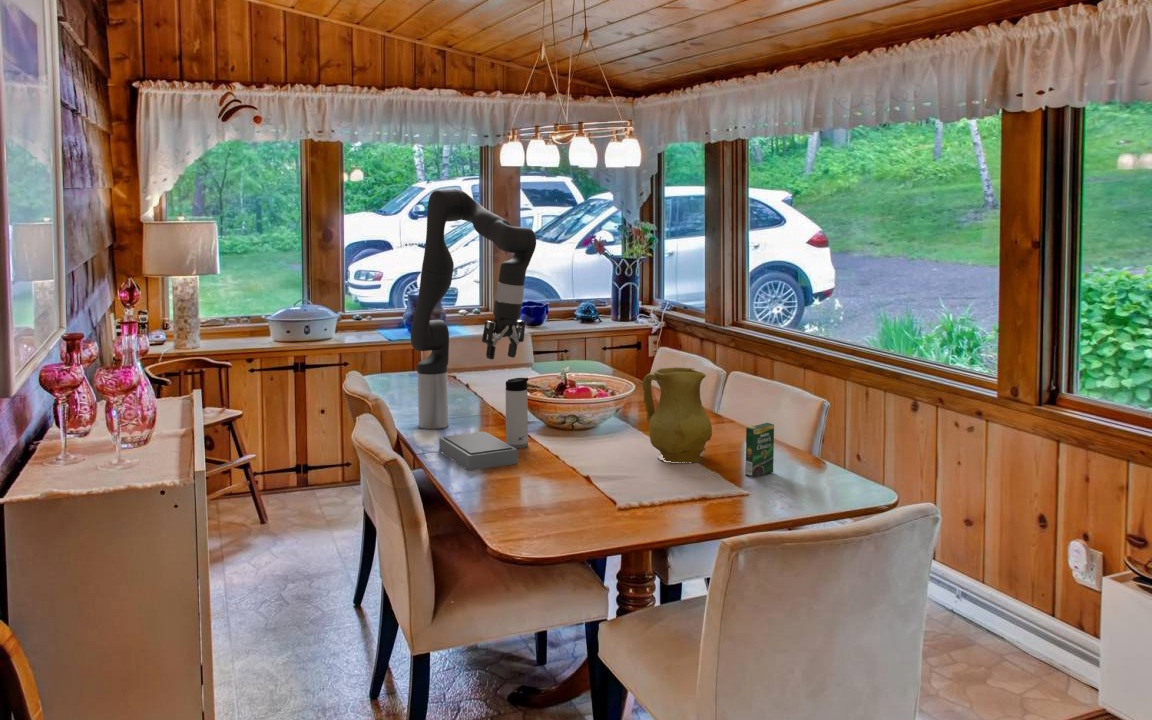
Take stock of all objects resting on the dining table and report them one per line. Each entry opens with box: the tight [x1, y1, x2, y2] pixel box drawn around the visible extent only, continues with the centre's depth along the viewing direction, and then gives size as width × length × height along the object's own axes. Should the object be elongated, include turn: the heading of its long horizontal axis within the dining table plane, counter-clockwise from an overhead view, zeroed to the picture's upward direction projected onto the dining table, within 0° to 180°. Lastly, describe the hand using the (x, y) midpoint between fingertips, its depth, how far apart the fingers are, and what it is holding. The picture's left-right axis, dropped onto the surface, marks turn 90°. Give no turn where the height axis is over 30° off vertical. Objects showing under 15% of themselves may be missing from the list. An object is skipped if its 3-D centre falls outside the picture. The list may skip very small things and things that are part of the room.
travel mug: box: [505, 377, 529, 449], centre depth 283 cm, size 6×7×20 cm
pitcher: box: [642, 366, 713, 464], centre depth 271 cm, size 17×19×25 cm
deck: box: [438, 431, 518, 472], centre depth 272 cm, size 22×14×4 cm, turn 28°
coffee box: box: [744, 422, 775, 479], centre depth 255 cm, size 8×3×13 cm, turn 126°
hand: (500, 357), depth 271 cm, fingers open, 8 cm apart
